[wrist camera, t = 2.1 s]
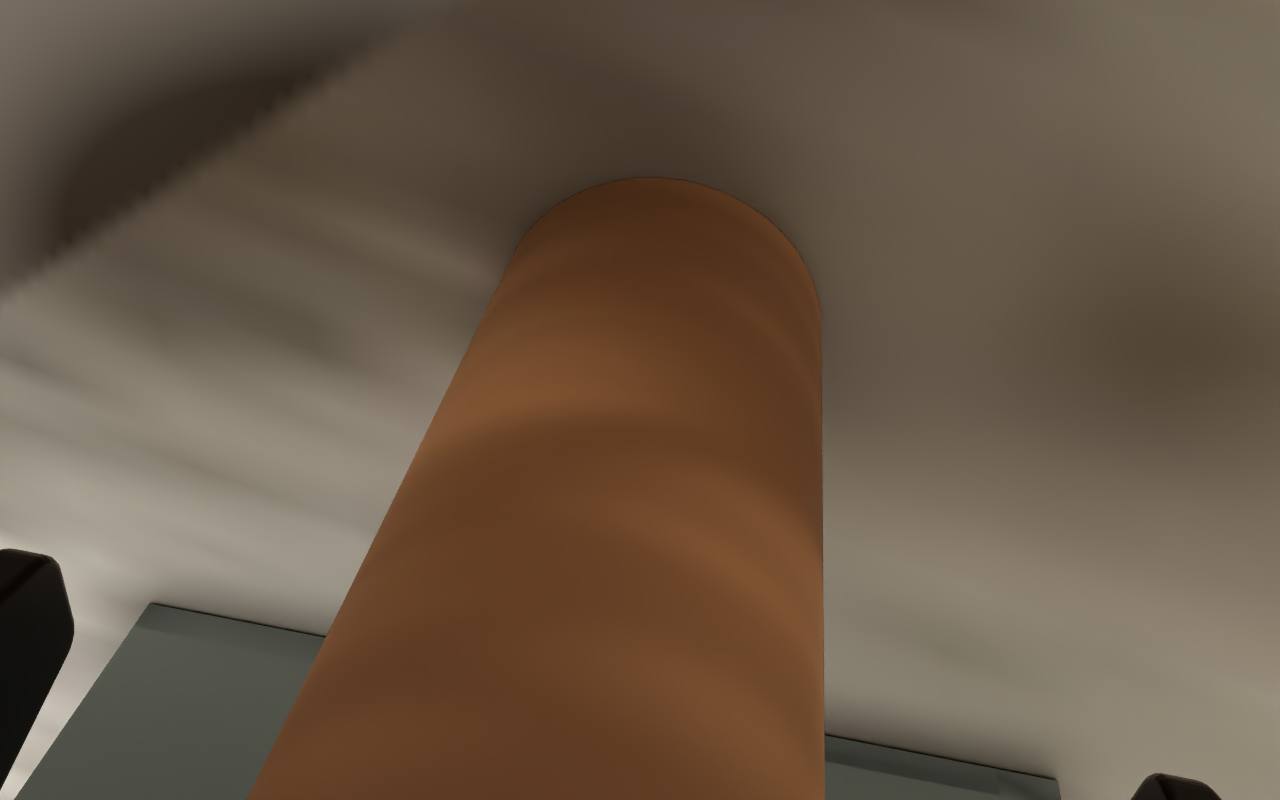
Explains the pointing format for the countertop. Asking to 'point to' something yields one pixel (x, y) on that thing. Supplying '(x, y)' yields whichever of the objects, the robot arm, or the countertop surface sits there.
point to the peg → (597, 535)
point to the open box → (264, 694)
